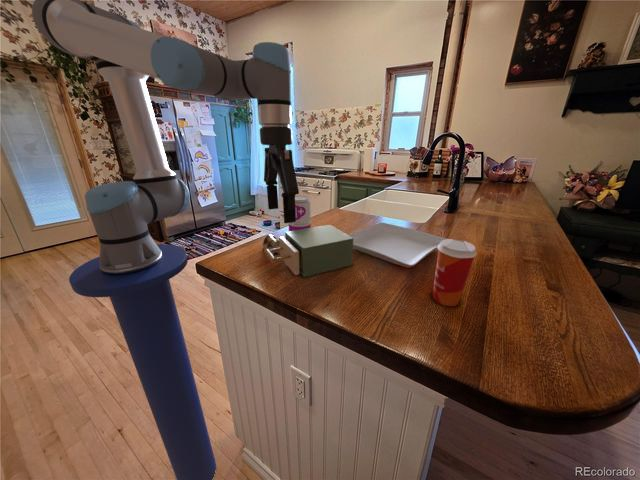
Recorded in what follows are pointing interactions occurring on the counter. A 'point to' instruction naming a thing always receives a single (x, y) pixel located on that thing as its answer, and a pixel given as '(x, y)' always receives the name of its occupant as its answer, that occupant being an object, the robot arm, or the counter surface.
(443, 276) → the paper cup
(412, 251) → the square plate
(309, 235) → the cabinet
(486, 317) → the counter surface
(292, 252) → the drawer
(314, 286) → the counter surface
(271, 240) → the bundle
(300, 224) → the supplement can
